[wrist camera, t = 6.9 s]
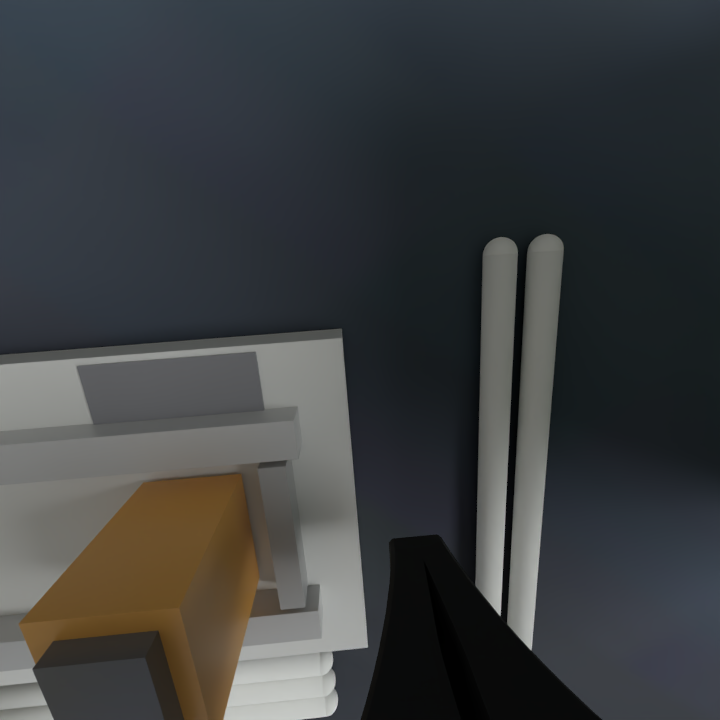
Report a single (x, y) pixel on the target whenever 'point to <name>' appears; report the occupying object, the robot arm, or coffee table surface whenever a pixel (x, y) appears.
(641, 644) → the coffee table surface
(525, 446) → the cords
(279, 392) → the white flat tray
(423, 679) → the robot arm
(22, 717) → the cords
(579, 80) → the coffee table surface
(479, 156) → the coffee table surface
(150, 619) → the lever
